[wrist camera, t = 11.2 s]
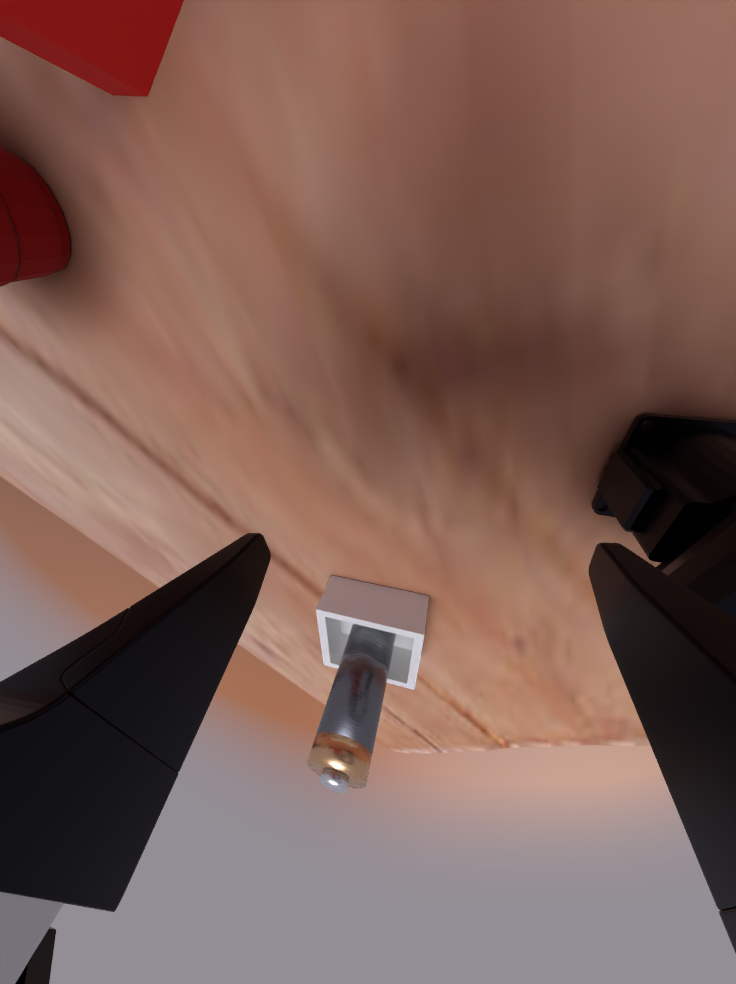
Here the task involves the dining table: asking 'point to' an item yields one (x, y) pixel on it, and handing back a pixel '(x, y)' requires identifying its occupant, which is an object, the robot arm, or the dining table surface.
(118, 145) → the dining table surface
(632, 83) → the dining table surface
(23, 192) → the plastic cup
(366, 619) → the bin
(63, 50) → the book
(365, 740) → the battery cell
